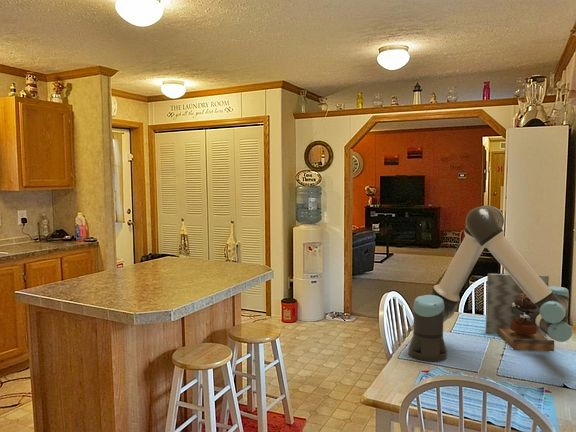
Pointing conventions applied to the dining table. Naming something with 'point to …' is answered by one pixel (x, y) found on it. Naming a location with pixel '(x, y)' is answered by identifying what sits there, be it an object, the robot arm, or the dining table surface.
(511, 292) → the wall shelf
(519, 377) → the dining table surface
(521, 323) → the brown curved piece
